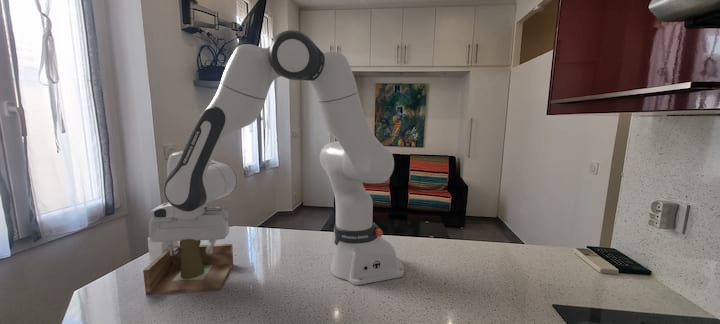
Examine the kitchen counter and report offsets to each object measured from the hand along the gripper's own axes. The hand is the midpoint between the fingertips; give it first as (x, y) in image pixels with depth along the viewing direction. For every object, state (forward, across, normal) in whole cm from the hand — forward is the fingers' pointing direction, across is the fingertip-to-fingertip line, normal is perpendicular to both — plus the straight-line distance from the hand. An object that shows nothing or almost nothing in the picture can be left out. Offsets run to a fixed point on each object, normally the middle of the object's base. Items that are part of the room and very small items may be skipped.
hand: (192, 254), depth 86 cm
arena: (+7, 0, +2) cm, 7 cm away
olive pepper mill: (+6, 0, 0) cm, 6 cm away
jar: (+7, +12, -10) cm, 16 cm away
